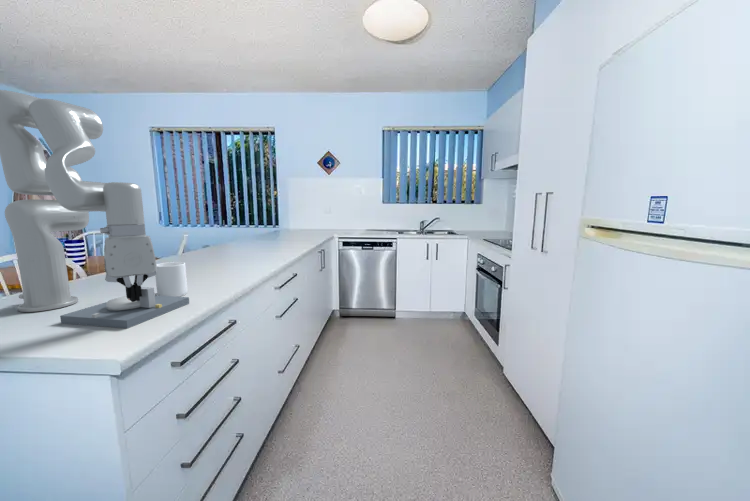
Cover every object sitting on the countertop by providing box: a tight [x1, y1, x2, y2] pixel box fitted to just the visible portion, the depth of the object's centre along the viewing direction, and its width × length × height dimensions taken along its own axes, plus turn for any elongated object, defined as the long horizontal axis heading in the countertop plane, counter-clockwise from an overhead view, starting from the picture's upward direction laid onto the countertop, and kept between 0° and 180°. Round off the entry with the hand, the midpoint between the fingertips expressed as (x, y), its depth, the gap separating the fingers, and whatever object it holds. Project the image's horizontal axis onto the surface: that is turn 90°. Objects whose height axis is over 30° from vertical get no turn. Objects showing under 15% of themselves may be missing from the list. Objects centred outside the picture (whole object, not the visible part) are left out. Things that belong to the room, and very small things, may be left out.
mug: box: [155, 261, 188, 297], centre depth 105 cm, size 9×12×11 cm
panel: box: [59, 294, 190, 329], centre depth 87 cm, size 20×20×3 cm
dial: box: [105, 286, 156, 311], centre depth 86 cm, size 13×10×5 cm
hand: (134, 300), depth 82 cm, fingers closed
